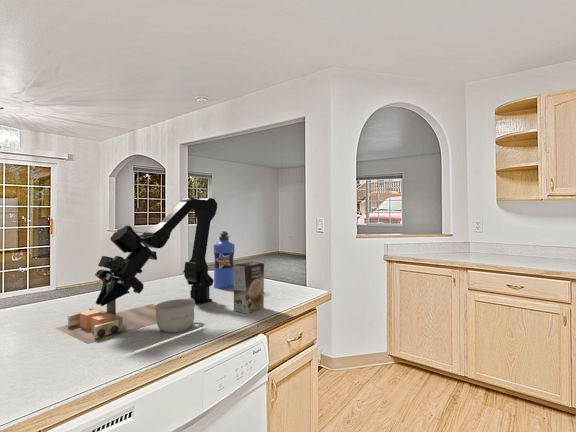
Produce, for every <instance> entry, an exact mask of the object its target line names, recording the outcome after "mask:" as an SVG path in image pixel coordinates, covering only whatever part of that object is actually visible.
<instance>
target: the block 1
mask: <svg viewBox="0 0 576 432" xmlns="http://www.w3.org/2000/svg"><path fill="white" fill-rule="evenodd" d="M81 312H82V313H80V312H79V313H80V327H82V328H84V329H89V328H91V317H95V316H99V315H101V312H99V311H96V310H91V311H89V310H86V312H84V311H81Z"/></svg>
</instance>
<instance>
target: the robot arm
mask: <svg viewBox="0 0 576 432" xmlns="http://www.w3.org/2000/svg"><path fill="white" fill-rule="evenodd" d="M192 210H193V211H194V215H195V217H196V227H195V234H194V241H193V247H192V248H193V249H192V255H191V258H190V259H189V260H188V261H185V262H184V270H183V271H182V272H183V274H184V278H185V280H186V281H187V284H188V286H190V291H189V292H190V297H189V298H193V299H194V301H195V304H197V305H201V304H205V303H208V302H212V301H213V299H212V298H210V287H211V286H214V278H212V277H211V275H210V274H209V266H208V264H207V261H206V257H207V256H206V255H207V249H208V241H209V235H210V233H209V232H210V227H211V222H212V220H213V219H214V218H215V216H216V214H217V210H218V202H217V201H216V200H215V198H212V197H207V198H206V197H199V198H192V197H187V198H186V197H185V198H182V199H181V200H180V201H179V203H178V204H177V205H176V206H175V207H174V208H173V209H172V210H171V211H170V212H169V213H168V214H167V215H166V216H165V217H164V218H163V219H162V220H161V221H160V222H159V223H158V224H157V223H156V224H155V225H153V226H152V227H149V228H148V229H147V230H146V231H144V232H143V233H142V234H138V233H137V232H136V231H135V230H134V228H133V227H131V225H124V227H122V228H120V229H119V230H117V231H115V232H114V233H112V235H111V237H110V239H109V241H110V242H111V243H113V244H114V245H115V246H116V247H117V248H118V249H120V251H121V252H122V253H124V254H126V253H129V254H128V255H127V256H126V257H125V258H124V257H123V256H119V255H115V256H114V257H111V256H105V255H102V256H101V258H100V260H99V262H98V264H97V266H98V267H100V268H105V269H98V270H97V271H96V272H95V274H94V276H95V277H96V278H98V279H99V280H101V282H102V286H101V289H100V292H99V295H98V296H97V298H96V301H95V304H96V305H97V306H98V305H99V306H101V307H104V306H105V305H106V306H107V304H108V303H109V302H111V301H113V300H115V299H119V298H121V297H122V296H125V295H127V294H130V292H131V291H129V290H130V289H131V288H132V289H133V292H134V293H135V294H139V295H140V294H141V292H142V291H143V290H144V283H143V282H142V281H140V280H139V278H137V277H136V276H137V275H138V274H139V275H141V274H142V273H143V270H142V269H143V267H145V265H146V264H147V262H149V260H155V261H156V260H158V256H157V251H154V250H151V249H162V248H163V247H165V246H166V243H168V240H170V237H171V234H172V232H173V230H174V229H175V228H176V227H178V225H179V224H180V223H181V222H182V221H183V219H185V217H186V216H187V215H188V214H189V213H190V212H191V211H192ZM150 248H151V249H150ZM109 282H111V287H110V289H109V290H108V292H107V288H106V283H109Z"/></svg>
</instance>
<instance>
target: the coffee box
mask: <svg viewBox="0 0 576 432" xmlns="http://www.w3.org/2000/svg"><path fill="white" fill-rule="evenodd" d="M264 278H265V263H264V262H257V261H249V262H248V261H247V262H242V263H237V264H236V263H234V287H233V311H234V312H239V313H243V314H249V313H252V312H255V311H257V310H258V311H259V310H261V309H263V308H264V307H265V300H264V299H265V297H264V295H265V292H264V291H265V279H264Z"/></svg>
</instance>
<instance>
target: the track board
mask: <svg viewBox="0 0 576 432" xmlns="http://www.w3.org/2000/svg"><path fill="white" fill-rule="evenodd" d="M156 305H157V304H154V303H150V304H146V305H142V306H138V307H134V308H129V309H126V310H122V311H118V312H117V311H116V315H117V316H120V317H123V330H122V331H118V332H116V333H112V334H108V335H105V336H103V337H98V338H95V337H94V332H91V328H89V329H84V328H82V327H80V324H77V325H73V326H68V324H65V325H61V326H59V327H55V329H56V330H58V331H60V332H62V333H64V334H67V335H69V336H71V337H73V338H75V339H77V340H80V341H82V342H84V343H86V344H88V345H90V344H92V343H95V342H99V341H102V340H105V339H108V338H112V337H115V336H119V335H122V334H125V333H128V332H132V331H135V330H139V329H142V328H145V327H149V326H151V325H154V324H157V320H156V309H155V306H156Z"/></svg>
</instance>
